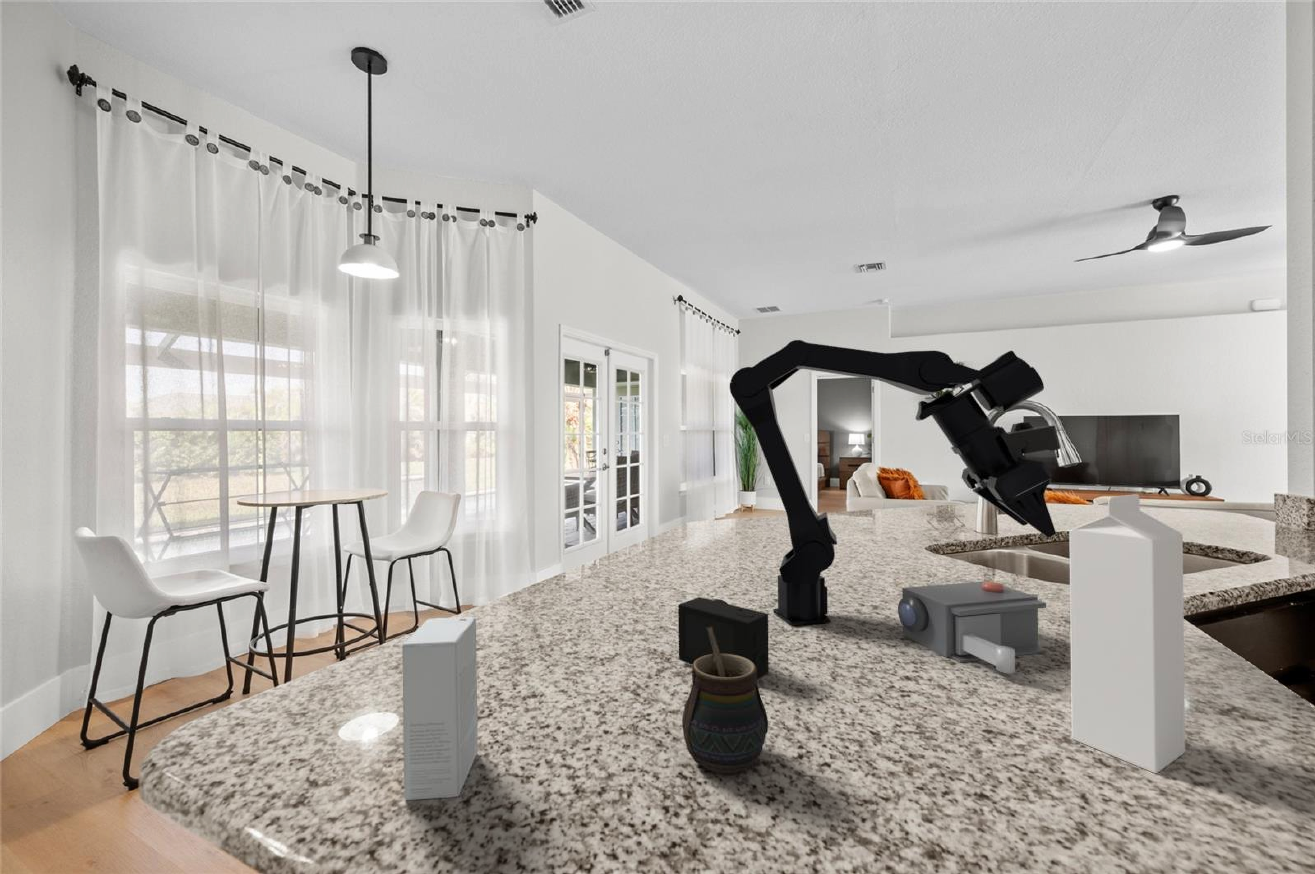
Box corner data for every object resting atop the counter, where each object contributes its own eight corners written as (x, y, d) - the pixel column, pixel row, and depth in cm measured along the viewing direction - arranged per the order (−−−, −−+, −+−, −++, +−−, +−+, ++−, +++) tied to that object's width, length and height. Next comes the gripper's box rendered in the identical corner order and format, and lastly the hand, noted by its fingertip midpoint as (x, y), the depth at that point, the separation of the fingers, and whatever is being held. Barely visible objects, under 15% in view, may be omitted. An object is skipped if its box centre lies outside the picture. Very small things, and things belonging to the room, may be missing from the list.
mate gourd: (707, 796, 41) (706, 665, 41) (666, 744, 48) (665, 632, 48) (784, 772, 44) (783, 649, 44) (735, 727, 51) (734, 621, 51)
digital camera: (775, 670, 64) (774, 610, 64) (750, 685, 60) (749, 622, 60) (705, 647, 71) (705, 594, 71) (678, 660, 67) (678, 603, 67)
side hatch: (1005, 677, 60) (1004, 635, 60) (955, 653, 66) (955, 615, 67) (1048, 671, 61) (1048, 631, 61) (996, 648, 68) (995, 611, 68)
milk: (1185, 754, 46) (1185, 497, 46) (1156, 775, 43) (1156, 501, 43) (1100, 721, 52) (1100, 491, 52) (1068, 738, 49) (1068, 494, 49)
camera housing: (945, 664, 65) (944, 603, 65) (892, 636, 74) (892, 582, 74) (1049, 651, 68) (1049, 594, 68) (987, 626, 78) (986, 575, 78)
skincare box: (428, 756, 47) (427, 617, 47) (478, 753, 47) (478, 615, 47) (400, 803, 41) (400, 643, 41) (459, 799, 41) (458, 641, 41)
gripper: (1053, 395, 64) (1138, 509, 62) (1005, 403, 82) (1069, 492, 80) (964, 444, 67) (1041, 554, 65) (936, 442, 85) (996, 529, 82)
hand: (1038, 529), depth 73 cm, fingers open, 9 cm apart
